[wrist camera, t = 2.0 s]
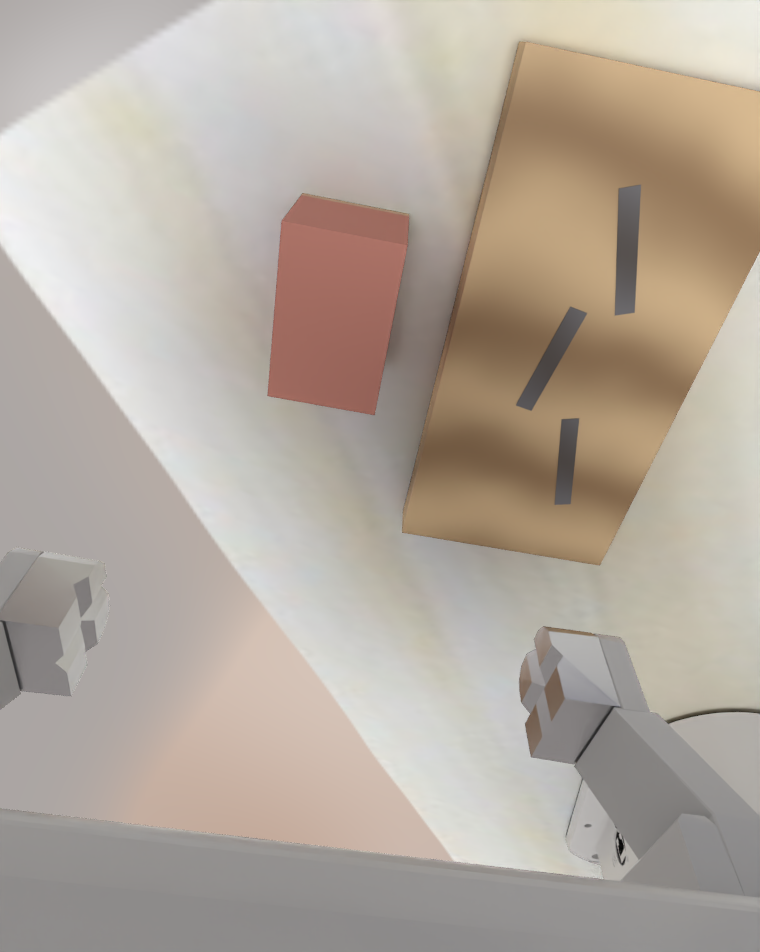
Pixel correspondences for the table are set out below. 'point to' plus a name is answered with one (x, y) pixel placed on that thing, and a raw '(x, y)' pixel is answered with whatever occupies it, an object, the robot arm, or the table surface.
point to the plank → (584, 299)
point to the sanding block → (335, 302)
